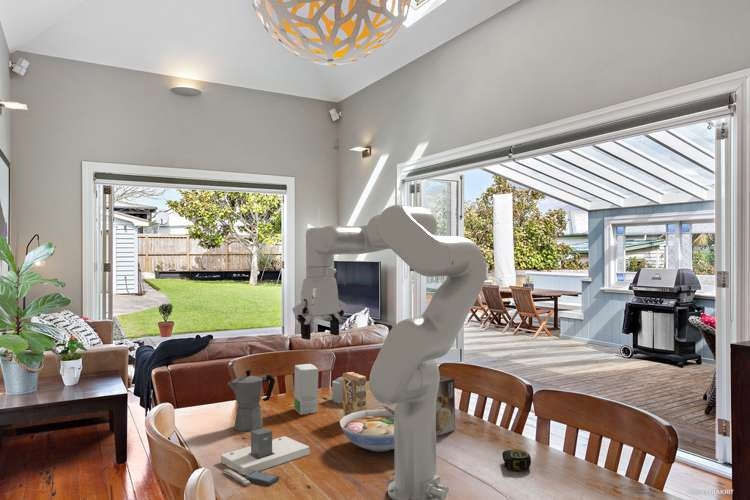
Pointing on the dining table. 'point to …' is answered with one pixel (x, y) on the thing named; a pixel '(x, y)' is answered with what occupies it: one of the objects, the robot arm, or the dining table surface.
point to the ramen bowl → (370, 429)
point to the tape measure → (516, 459)
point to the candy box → (354, 393)
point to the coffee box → (445, 406)
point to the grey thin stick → (237, 476)
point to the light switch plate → (281, 453)
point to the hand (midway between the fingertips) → (320, 336)
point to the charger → (261, 443)
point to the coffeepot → (250, 400)
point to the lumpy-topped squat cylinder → (339, 390)
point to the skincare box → (306, 389)
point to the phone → (262, 478)
